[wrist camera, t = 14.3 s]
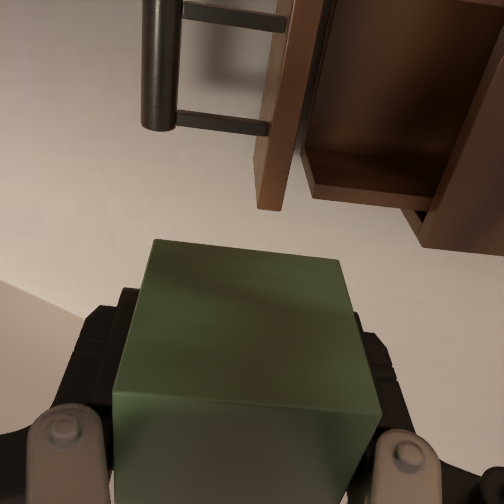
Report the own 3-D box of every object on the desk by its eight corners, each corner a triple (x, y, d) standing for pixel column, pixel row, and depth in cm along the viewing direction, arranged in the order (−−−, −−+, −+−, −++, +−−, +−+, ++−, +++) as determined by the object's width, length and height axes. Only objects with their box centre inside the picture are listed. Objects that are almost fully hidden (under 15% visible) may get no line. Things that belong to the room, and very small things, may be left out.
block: (148, 367, 14) (114, 531, 10) (154, 237, 12) (111, 392, 8) (301, 381, 15) (322, 542, 11) (339, 259, 12) (384, 414, 8)
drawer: (152, 147, 27) (135, 196, 23) (159, -102, 21) (137, -108, 16) (486, 188, 30) (535, 240, 25) (586, -26, 23) (680, -12, 18)
